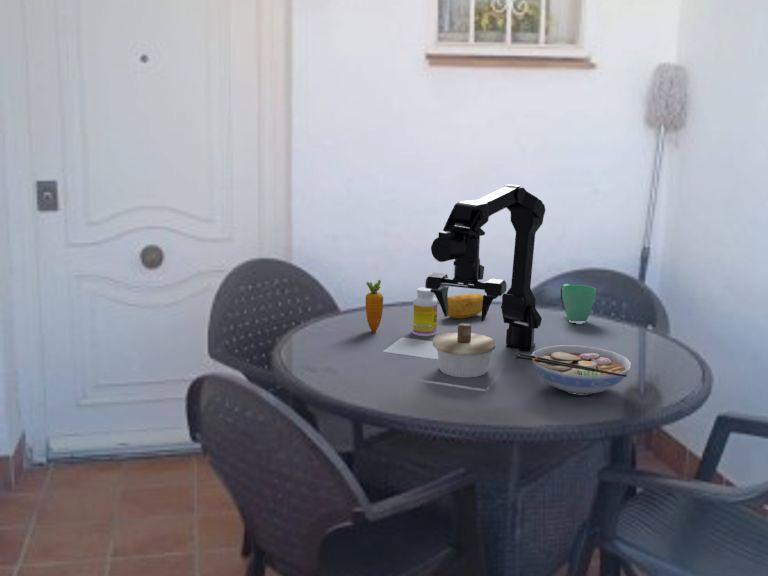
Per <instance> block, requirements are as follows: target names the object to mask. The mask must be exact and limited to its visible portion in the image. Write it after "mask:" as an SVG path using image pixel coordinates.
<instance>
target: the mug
mask: <svg viewBox="0 0 768 576" xmlns="http://www.w3.org/2000/svg"><path fill="white" fill-rule="evenodd" d="M597 291H598V289H596V288H595V287H592V286H589V285H581V284H568V283H564V284H562V285H561V288H560V299H561V303H562V307H563V309H564V311H565V315H566V318H567V321H568V320H571V321H586V320H587V321H588V318H589V317H590V315H591V312H592V310H593V307H594V303H595V299H596V296H597ZM587 321H586V322H587Z"/></svg>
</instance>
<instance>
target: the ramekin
mask: <svg viewBox="0 0 768 576" xmlns="http://www.w3.org/2000/svg"><path fill="white" fill-rule="evenodd" d="M437 351H438V367H439V370H440V371H441V372H442V373H443V374H445V375H448V376H451V377H455V378H465V379H466V378H468V379H469V378H476V377H481V376H484V375H485V374H486V373H487V371H488V370H489V364H490V359H491V354H492V352H493V351H491V352H488V353H484V354H477V355H459V354H452V353H447V352H443V351H440V350H438V349H437Z"/></svg>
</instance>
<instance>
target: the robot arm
mask: <svg viewBox="0 0 768 576" xmlns="http://www.w3.org/2000/svg"><path fill="white" fill-rule="evenodd" d="M545 206H546V204H544V202H543V201H542V200H541V199H539V198H538V197H537V196H535V195H533V194H532V193H530V192H529V191H527V190H526V189H525V188H524V187H522V186H521V185H516V184H506V185H503V186H502V187H501V188H500V189H497V190H496V191H492V192H490V193H489V194H487V195H484V196H483V197H481V198H479V199H470V200H469V199H468V200H461V201H458V202H457V203H455V204H454V205H453V208H452V210H451V212H450V214H449V216H448V218H447V220H446V222H445V225H444V227H443V228H442V231H439V232H438V237H436V238H435V239H434V240H433V242H432V244H431V246H430V250H431V252H430V253H431V254H432V257H433V258H434V259H435V260H436V261H437V262H440V263H443V262H448V261H453V266H454V269H453V270H454V271H453V272H454V273H453V274H454V275H453V278H451V277H450V278H449V277H448V273H442V272H441V273H439V272H433V273H432V274H430V275H428V276H427V277H426V279H425V286H424V287H425V288H428V289H431V292H433V293H434V295H435V296H434V297H436V300H437V302H438V303H439V305H440V307H441V311H442V313H443V315H444V318H447V317H449V316H448V297H449V296H448V293H449V287H454V288H463V289H473V290H480V291H481V290H482V291H483V290H484V292H485V294H483V295H484V296H483V304H482V311H481V322H484V321H485V320H486V316H487V315H488V312H489V309H490V306H491V305H492V302H493V301H494V300H496V299H497V298H498V297H502V298H501V300H502V301H501V306H500V309H501V314H502V318H503V319H502V320H503V323H504V324H508V328H507V329H506V336H505V337H506V338H505V344H506V346H505V347H506V348H508V349H509V348H510V349H516V350H519V351H526V352H531V351H532V349H533V348H534V347H535V345H536V343H535V342H534V341H535V329H539V327H541V323H542V321H543V318H542V317H541V315H540V313H539V311H538V310H537V308H536V297H535V295H534V294H533V291H532V289H531V285H532V284H531V282H532V275H533V274H532V272H533V261H534V250H535V239H536V233H537V232H538V230H539V229H540V227H541V226H542V225H543V223H544V216H545V215H546V214H545V213H546V207H545ZM504 209H506V210H508V211H509V212H510V222H511V225H512V227H513V229H514V231H515V237H514V238H515V239H514V248H513V249H514V250H513V261H512V270H511V271H512V273H511V284H510V288H509V289H508V290H507V288H508V287H507V284H508V283H507V282H506V280H505V279H498V278H489V279H488V280H487V281H481V280H483V279H484V274H485V266H484V265H482V264H481V261H480V260H481V258H480V241H481V239H480V238H481V236H486V232H485V231H484V230H483V229H482V227H483V226H485V225H486V224H487V223H488V222H489V218H490V217H491V216H493V215H495V214H496V213H498V212H500V211H502V210H504Z"/></svg>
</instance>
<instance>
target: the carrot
mask: <svg viewBox="0 0 768 576" xmlns="http://www.w3.org/2000/svg"><path fill="white" fill-rule="evenodd" d="M381 282H382V280H381V279H378V280H377V282H375V283H374V284H373V282H372V281H370V282H369V281H367V282H366V285H367V287H368V289H369V290H370V292H368V293H367V294H366V295H365V314H366V321H367V323H368V327H369V330H370V331H371V332H372V333H376V332H377V331H378V328H379V327H380V324H381V321H382V316H383V308H384V296H383V294H381V292H378V291H379V290H380V288H381Z"/></svg>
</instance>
